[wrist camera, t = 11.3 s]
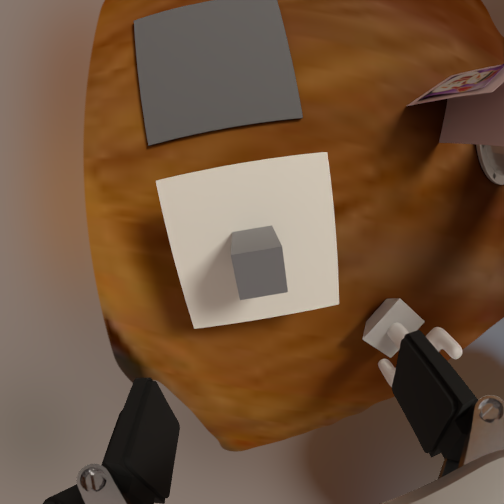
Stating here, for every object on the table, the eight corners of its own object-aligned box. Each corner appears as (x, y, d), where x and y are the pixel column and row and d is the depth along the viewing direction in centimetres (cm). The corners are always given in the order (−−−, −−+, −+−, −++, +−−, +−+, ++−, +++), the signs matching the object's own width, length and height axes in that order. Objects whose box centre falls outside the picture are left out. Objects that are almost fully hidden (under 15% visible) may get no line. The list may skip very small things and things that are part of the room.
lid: (323, 152, 24) (353, 151, 17) (336, 299, 29) (359, 337, 22) (158, 179, 24) (131, 188, 17) (195, 323, 29) (185, 367, 22)
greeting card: (448, 70, 25) (522, 54, 11) (471, 114, 28) (547, 115, 13) (402, 100, 27) (487, 83, 13) (430, 149, 29) (516, 158, 15)
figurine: (347, 330, 37) (390, 406, 23) (392, 279, 35) (456, 340, 21) (376, 348, 39) (418, 417, 25) (417, 303, 37) (474, 362, 23)
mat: (274, -4, 23) (275, -6, 22) (301, 118, 28) (302, 117, 28) (135, 22, 23) (133, 20, 22) (149, 145, 28) (148, 145, 28)
